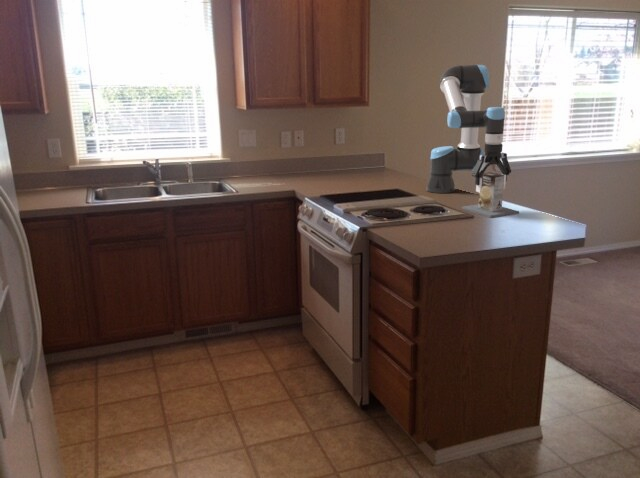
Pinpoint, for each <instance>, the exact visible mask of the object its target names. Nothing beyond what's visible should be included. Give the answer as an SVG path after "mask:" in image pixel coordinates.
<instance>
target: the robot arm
mask: <svg viewBox="0 0 640 478" xmlns="http://www.w3.org/2000/svg"><path fill="white" fill-rule="evenodd" d="M489 87H490V74H489V70H488V67H487V66H486V65H484V64H468V65H467V64H466V65H465V64H462V65H460V64H459V65H457V64H456V65H453V66H450V67H448V68H447V69H446V70H445V71H444V72H443V73H442V74H441V77H440V79H439V88H440V90H441V92H442V93H443V94H444V97H445V101H446V105H447V107H448V113H447V117H446V119H447V121H446V122H447V126H448V128H450V129H461V130H460V131H461V132H460V133H461V134H460V142H459V143H458V144H457V146H456V147H457V148H454V146H451V145H448V146H446V145H445V146H439V147H435V148H433V149H432V150H431V151H430V172H429V179H428V181H427V185H426V188H425V189H426V190H425V191H426V192H428V193H429V192H430V193H435V194H448V193H454V192H456V186H455V182H454V177H453V172H467V171H469V172H472V174H471V176H472V177H473V178H475V183H474V184H475V186H476V187H475V192H477V193H478V194H479V193H481V188H482V178H480V177H481V176H482V175H483V173H486V170H487V169H488V168H489V166H491V165H492V166H493V165H496V166H497V167H498V169H499V170H500V172H501V175H504V186H503V190H506V184H507V181H508V176H509V175H510V174H511V173H512V169H511V166H510V163H509V160H508V153H506V152H503V142H504V131H505V130H504V129H505V128H504V127H505V117H506V112H505V111H506V109H505V107H502V106H490V107H487V109H484V110H481V103H482V102H481V101H482V96H484V94H485V93H486V90H487V89H488V88H489ZM479 128H485V136H484V142H485V144H484V151H483V149H482V148H481V145H480V144H479V142H478V140H479V130H480V129H479ZM484 152H485V153H484Z"/></svg>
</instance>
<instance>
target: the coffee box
mask: <svg viewBox="0 0 640 478" xmlns="http://www.w3.org/2000/svg"><path fill="white" fill-rule="evenodd" d="M501 174H502V173H501ZM501 174H500V173H497V172H491V171H488V172H484V173H483V175H482V176H481V177H480V178H482V188H481V193H479V192H478V204H479V205H478V204H477V205H478V208H481V209H485V210H488V211H498V210H502V207H503V200H504V199H503V196H504V189H503V186H504V175H501Z"/></svg>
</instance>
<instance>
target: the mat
mask: <svg viewBox="0 0 640 478" xmlns="http://www.w3.org/2000/svg"><path fill="white" fill-rule="evenodd" d="M478 205H479V203H477V204H471V205H463V206H461V210H465V211H467V212H471V213H474V214H477V215H479V216H483V217H487V218H489V219H492V218H499V217H505V216H511V215H512V216H513V215H519V214H520V211H519V210H516V209H513V208H509V207H505V206H502V210H498V211H488V210H485V209H481V208H478Z"/></svg>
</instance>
